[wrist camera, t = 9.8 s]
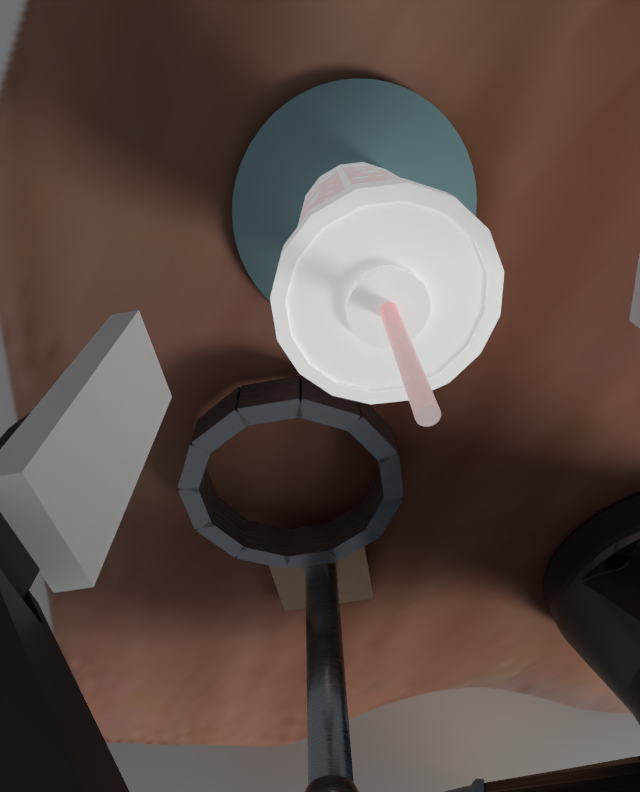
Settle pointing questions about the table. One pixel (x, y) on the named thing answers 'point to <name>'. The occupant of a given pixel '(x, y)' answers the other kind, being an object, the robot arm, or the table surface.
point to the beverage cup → (385, 289)
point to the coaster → (338, 159)
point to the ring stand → (304, 546)
